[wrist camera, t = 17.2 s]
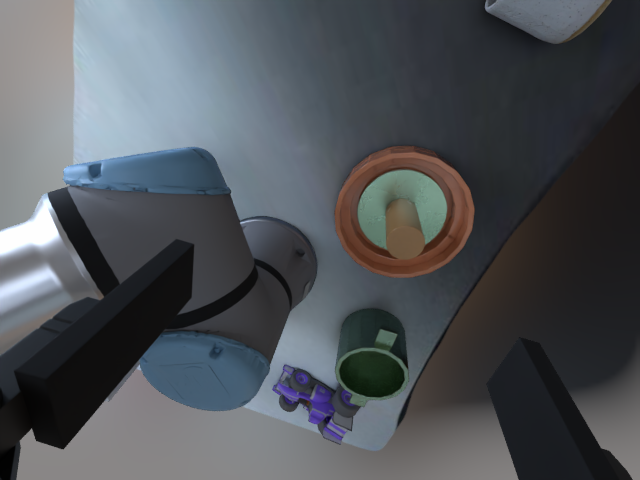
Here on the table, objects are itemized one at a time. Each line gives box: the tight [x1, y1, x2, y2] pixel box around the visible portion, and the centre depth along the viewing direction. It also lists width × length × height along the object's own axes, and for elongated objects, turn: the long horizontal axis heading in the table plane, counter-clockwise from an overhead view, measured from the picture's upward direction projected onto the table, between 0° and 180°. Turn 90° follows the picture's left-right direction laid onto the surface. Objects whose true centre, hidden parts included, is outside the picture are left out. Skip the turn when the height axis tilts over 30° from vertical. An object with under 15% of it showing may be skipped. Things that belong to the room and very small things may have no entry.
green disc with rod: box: [357, 169, 447, 260], centre depth 39 cm, size 11×11×10 cm
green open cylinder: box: [335, 309, 409, 407], centre depth 50 cm, size 10×16×8 cm, turn 167°
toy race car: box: [272, 365, 361, 444], centre depth 60 cm, size 10×15×6 cm, turn 68°
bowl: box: [335, 146, 475, 278], centre depth 42 cm, size 16×16×4 cm
